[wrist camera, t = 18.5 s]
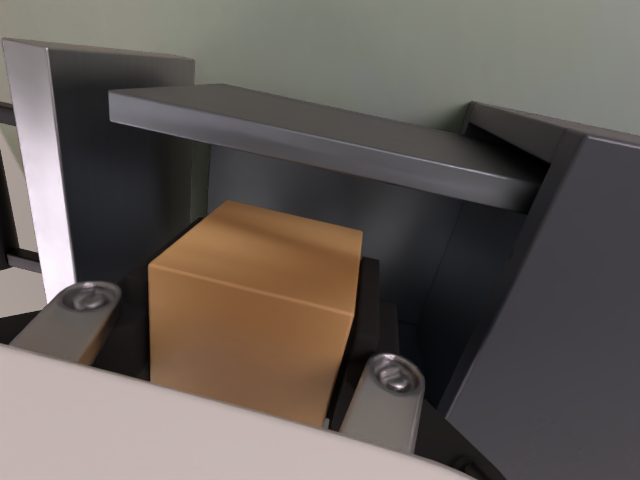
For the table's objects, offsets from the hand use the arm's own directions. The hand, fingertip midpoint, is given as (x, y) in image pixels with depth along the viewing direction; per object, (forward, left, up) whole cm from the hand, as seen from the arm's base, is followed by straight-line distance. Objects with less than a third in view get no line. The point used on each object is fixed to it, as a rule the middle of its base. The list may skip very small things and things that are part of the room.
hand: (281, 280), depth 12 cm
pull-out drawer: (-2, +2, -6) cm, 7 cm away
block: (0, 0, 0) cm, 0 cm away
